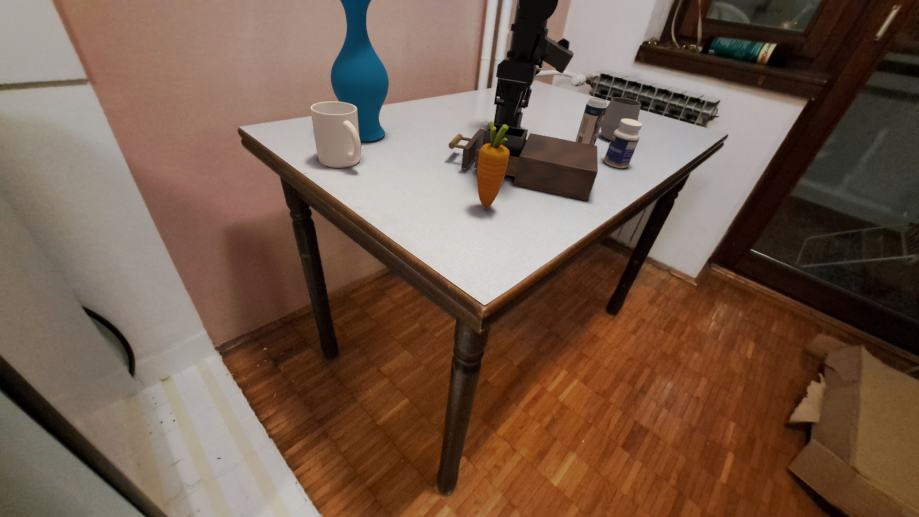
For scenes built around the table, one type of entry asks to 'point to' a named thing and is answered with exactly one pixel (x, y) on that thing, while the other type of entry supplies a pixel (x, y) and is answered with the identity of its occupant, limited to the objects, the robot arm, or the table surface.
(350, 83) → the vase
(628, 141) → the pill bottle
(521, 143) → the black open box
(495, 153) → the carrot
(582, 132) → the spice jar
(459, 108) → the table surface
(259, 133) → the table surface
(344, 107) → the mug
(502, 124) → the robot arm
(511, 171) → the drawer
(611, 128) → the cup
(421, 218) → the table surface
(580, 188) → the cabinet
